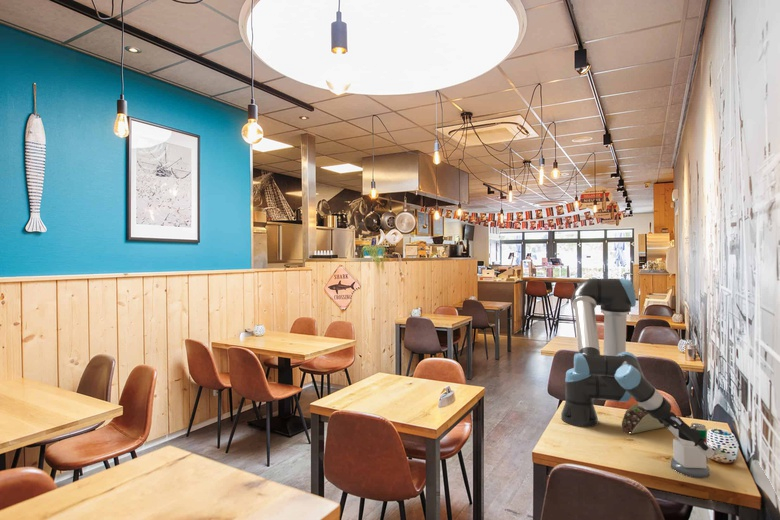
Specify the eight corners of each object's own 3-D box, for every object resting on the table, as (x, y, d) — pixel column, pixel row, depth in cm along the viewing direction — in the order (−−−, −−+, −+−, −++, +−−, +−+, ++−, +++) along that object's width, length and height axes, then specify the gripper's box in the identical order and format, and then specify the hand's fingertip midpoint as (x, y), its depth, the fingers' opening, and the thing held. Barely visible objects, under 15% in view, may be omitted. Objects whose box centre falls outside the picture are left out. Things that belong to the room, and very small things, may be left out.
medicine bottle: (707, 468, 146) (706, 432, 147) (684, 468, 147) (683, 431, 148) (694, 459, 154) (693, 425, 154) (673, 459, 154) (672, 424, 155)
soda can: (703, 456, 161) (704, 423, 161) (708, 462, 157) (709, 428, 157) (687, 454, 163) (688, 421, 163) (692, 459, 158) (692, 426, 158)
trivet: (667, 460, 157) (667, 455, 157) (702, 465, 154) (702, 459, 154) (676, 474, 147) (676, 468, 147) (714, 480, 143) (714, 473, 143)
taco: (615, 429, 187) (615, 406, 187) (659, 421, 197) (659, 399, 197) (635, 438, 178) (635, 413, 178) (680, 429, 188) (680, 405, 188)
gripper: (625, 399, 163) (665, 439, 163) (669, 424, 138) (716, 471, 138) (639, 384, 163) (679, 425, 163) (686, 407, 138) (733, 454, 138)
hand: (696, 446), depth 151 cm, fingers open, 13 cm apart
